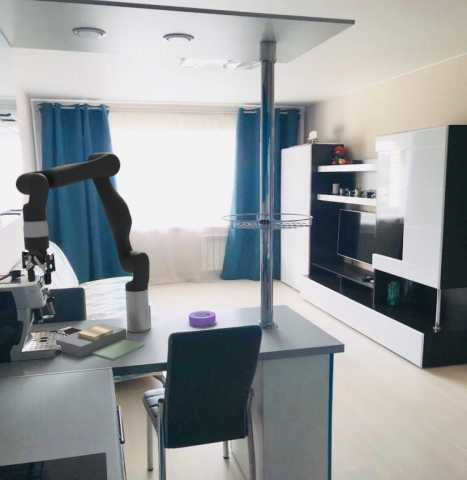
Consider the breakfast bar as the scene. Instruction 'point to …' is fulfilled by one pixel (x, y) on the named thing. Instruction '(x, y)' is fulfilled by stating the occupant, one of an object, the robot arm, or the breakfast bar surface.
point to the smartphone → (70, 330)
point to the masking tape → (202, 318)
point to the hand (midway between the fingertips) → (39, 283)
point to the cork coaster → (95, 333)
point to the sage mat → (118, 349)
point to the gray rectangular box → (89, 341)
